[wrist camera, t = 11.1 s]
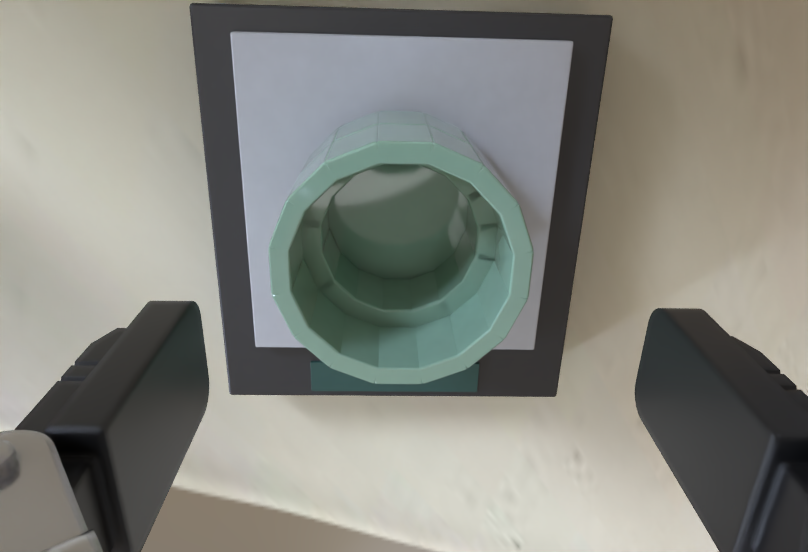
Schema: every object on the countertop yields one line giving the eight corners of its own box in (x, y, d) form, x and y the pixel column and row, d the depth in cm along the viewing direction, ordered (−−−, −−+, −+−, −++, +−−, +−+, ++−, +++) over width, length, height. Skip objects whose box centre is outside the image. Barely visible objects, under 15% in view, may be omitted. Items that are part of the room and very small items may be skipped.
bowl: (292, 105, 18) (260, 138, 13) (506, 110, 18) (548, 144, 13) (301, 299, 20) (276, 384, 15) (488, 301, 20) (518, 386, 16)
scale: (209, 3, 19) (182, 2, 16) (590, 14, 19) (620, 15, 17) (242, 363, 24) (225, 403, 22) (542, 366, 24) (560, 405, 22)
